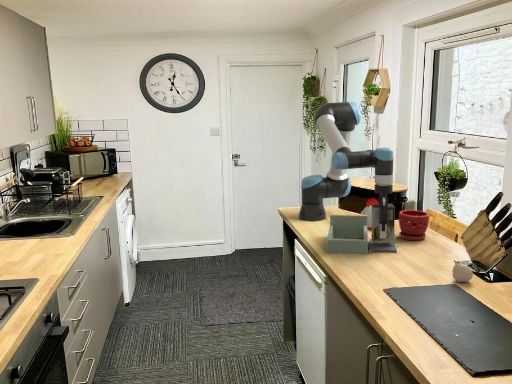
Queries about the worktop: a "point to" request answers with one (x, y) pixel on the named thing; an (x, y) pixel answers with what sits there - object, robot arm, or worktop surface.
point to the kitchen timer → (369, 212)
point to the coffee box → (376, 226)
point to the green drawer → (347, 234)
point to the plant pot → (413, 224)
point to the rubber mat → (382, 247)
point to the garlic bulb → (462, 272)
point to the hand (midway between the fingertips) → (382, 235)
